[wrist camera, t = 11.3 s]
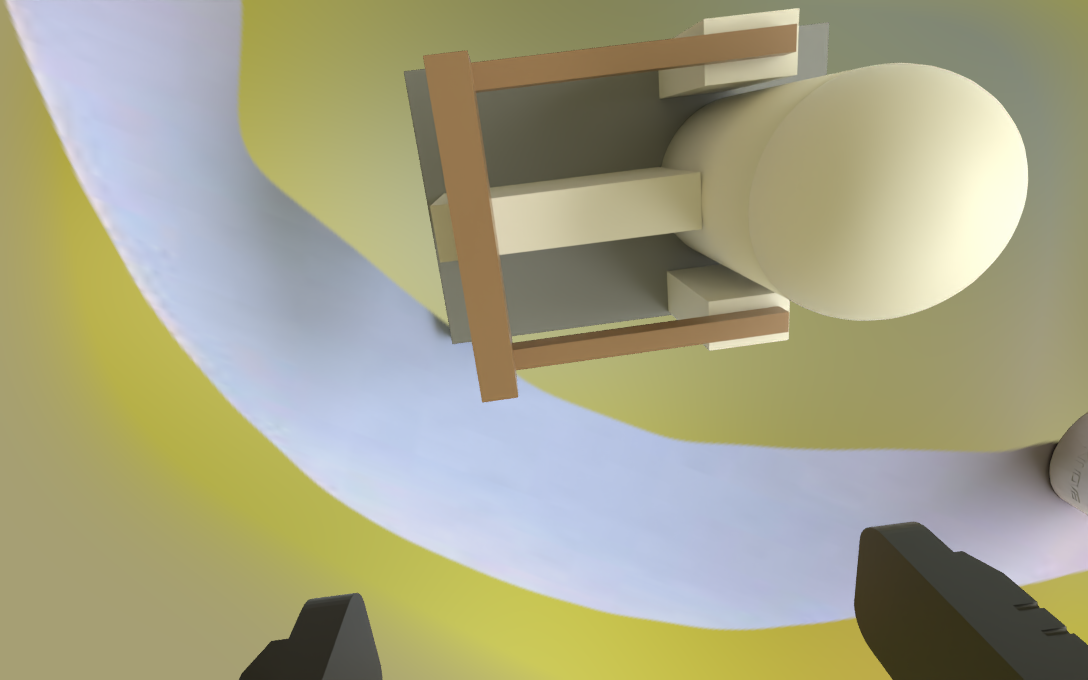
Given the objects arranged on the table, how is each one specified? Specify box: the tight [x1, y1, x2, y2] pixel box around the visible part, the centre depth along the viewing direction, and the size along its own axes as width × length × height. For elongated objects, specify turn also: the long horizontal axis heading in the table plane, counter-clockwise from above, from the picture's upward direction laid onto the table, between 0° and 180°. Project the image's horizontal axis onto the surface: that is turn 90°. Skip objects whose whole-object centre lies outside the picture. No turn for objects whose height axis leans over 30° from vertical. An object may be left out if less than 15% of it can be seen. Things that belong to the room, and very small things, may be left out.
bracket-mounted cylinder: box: [404, 8, 1028, 350], centre depth 25 cm, size 22×15×18 cm, turn 97°
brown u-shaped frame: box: [423, 24, 797, 402], centre depth 23 cm, size 14×13×4 cm
